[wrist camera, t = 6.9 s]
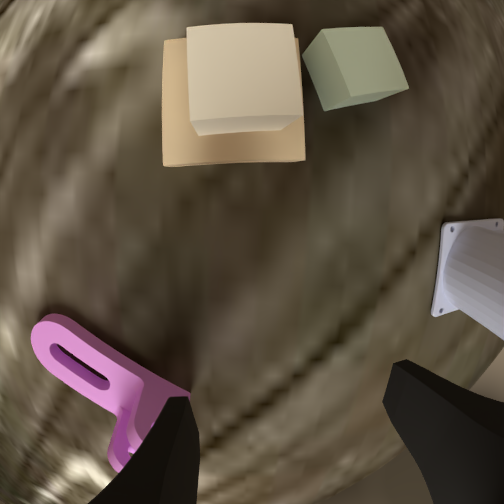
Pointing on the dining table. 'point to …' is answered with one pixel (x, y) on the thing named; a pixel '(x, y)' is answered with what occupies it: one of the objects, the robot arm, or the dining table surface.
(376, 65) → the sage cube
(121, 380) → the bracket
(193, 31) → the cream cube
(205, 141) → the oak slab
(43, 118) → the dining table surface
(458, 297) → the robot arm
